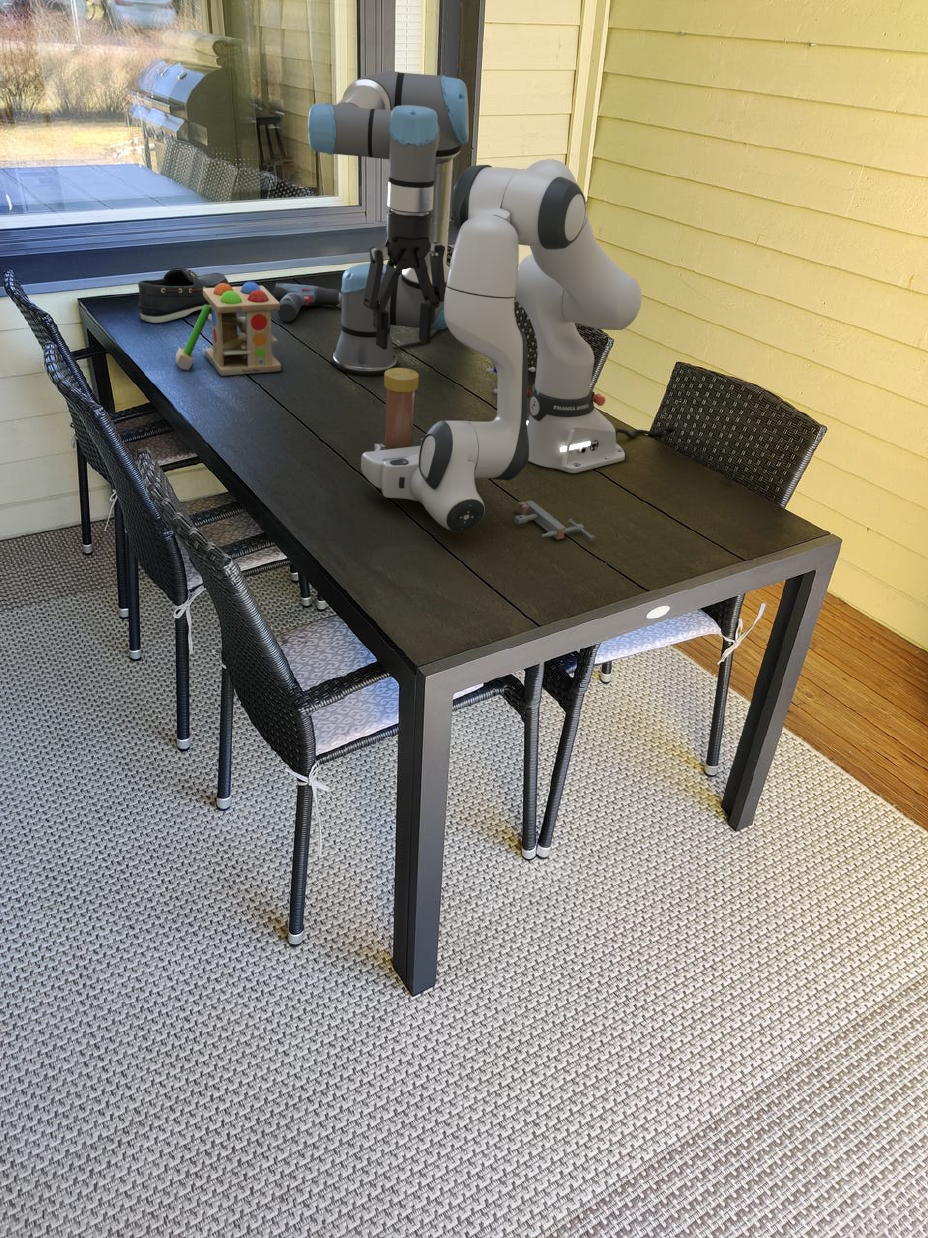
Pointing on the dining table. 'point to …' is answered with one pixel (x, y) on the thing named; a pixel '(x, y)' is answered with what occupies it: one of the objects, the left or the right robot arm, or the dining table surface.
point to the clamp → (546, 521)
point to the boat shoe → (175, 294)
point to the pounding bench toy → (229, 347)
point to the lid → (401, 379)
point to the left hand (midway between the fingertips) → (403, 343)
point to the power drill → (302, 298)
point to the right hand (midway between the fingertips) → (401, 444)
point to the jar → (399, 419)
